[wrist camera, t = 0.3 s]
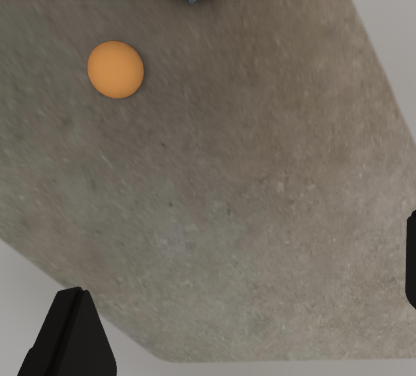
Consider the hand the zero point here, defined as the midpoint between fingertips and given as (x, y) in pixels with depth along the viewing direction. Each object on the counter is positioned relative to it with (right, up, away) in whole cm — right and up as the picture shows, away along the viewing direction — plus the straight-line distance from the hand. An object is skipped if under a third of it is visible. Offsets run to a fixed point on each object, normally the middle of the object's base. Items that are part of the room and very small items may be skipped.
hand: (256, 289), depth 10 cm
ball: (-10, +14, +23) cm, 28 cm away
